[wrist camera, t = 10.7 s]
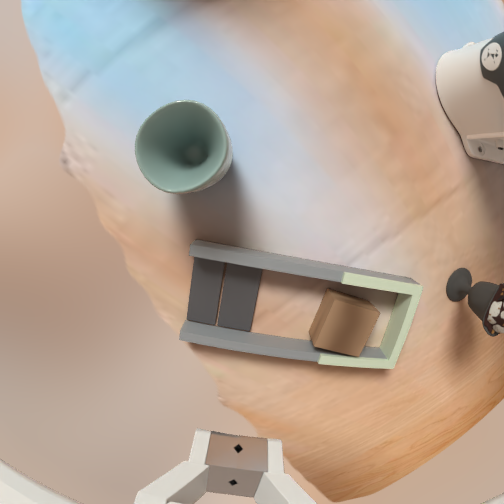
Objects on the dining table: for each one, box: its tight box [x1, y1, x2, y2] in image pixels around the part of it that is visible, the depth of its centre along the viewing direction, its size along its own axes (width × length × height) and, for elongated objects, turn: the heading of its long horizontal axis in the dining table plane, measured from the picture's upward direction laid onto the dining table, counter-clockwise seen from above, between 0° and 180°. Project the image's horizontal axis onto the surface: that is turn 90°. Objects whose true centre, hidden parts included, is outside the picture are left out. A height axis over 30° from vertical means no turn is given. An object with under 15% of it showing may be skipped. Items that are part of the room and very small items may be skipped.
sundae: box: [447, 268, 504, 336], centre depth 28 cm, size 7×7×15 cm
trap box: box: [179, 240, 423, 369], centre depth 34 cm, size 27×11×4 cm, turn 80°
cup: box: [135, 100, 233, 194], centre depth 28 cm, size 8×8×10 cm
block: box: [309, 288, 380, 357], centre depth 35 cm, size 6×6×4 cm
